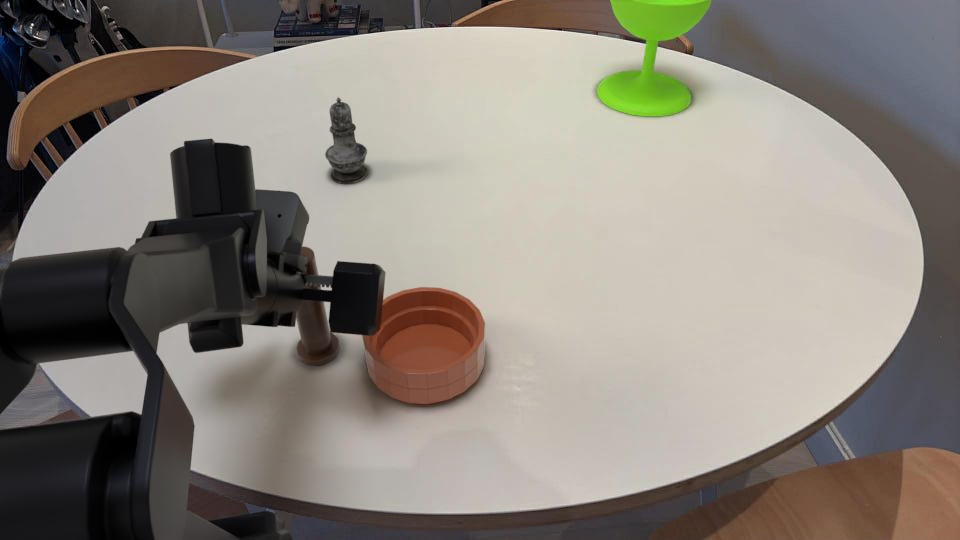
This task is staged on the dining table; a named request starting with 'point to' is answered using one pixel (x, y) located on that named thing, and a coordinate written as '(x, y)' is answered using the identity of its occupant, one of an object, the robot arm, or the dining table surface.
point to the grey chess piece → (345, 147)
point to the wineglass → (651, 57)
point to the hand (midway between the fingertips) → (307, 296)
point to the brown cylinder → (314, 324)
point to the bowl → (426, 345)
